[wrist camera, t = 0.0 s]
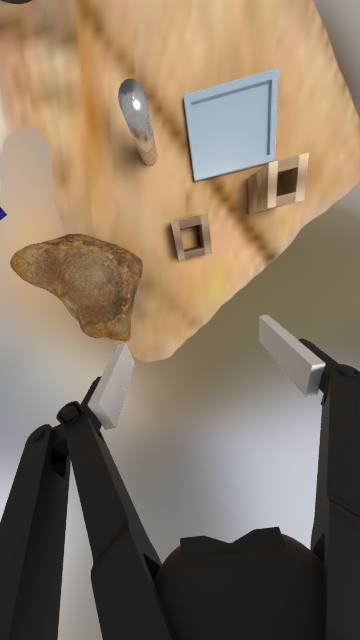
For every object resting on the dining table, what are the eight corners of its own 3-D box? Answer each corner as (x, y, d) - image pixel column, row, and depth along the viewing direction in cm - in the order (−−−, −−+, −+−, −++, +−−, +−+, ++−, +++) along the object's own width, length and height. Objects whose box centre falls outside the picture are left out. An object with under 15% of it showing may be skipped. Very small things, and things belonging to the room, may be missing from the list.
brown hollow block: (171, 224, 36) (171, 222, 31) (203, 216, 35) (207, 213, 31) (178, 257, 39) (178, 260, 34) (207, 251, 38) (212, 253, 34)
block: (247, 178, 33) (268, 162, 25) (278, 170, 32) (308, 152, 25) (248, 214, 35) (267, 208, 28) (277, 207, 35) (303, 200, 28)
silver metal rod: (138, 146, 30) (114, 82, 17) (154, 142, 30) (141, 74, 17) (143, 167, 31) (124, 123, 19) (159, 163, 31) (149, 115, 19)
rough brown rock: (173, 288, 42) (172, 313, 29) (127, 325, 47) (109, 361, 33) (98, 202, 34) (49, 180, 20) (51, 257, 38) (-15, 269, 25)
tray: (183, 100, 28) (183, 94, 26) (274, 74, 27) (279, 67, 26) (194, 182, 33) (194, 180, 31) (271, 162, 32) (275, 160, 31)
